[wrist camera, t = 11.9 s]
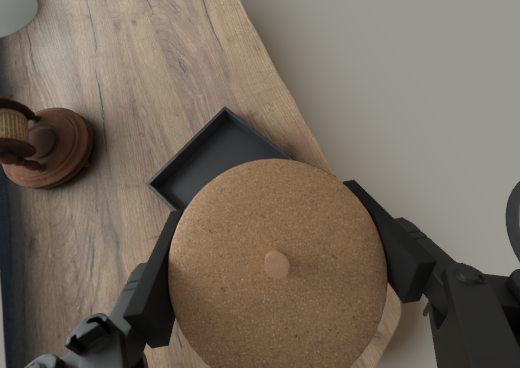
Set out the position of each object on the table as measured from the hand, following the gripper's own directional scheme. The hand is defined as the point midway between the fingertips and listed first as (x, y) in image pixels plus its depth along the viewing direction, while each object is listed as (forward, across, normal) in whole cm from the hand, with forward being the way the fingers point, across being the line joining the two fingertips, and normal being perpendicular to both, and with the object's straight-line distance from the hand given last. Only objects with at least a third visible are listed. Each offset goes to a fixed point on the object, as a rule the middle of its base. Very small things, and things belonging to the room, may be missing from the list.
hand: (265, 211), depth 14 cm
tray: (+19, -5, -8) cm, 21 cm away
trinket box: (+1, 0, -5) cm, 5 cm away
